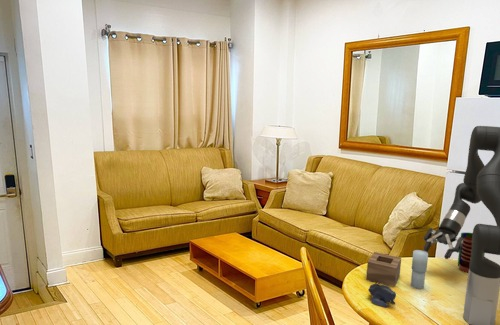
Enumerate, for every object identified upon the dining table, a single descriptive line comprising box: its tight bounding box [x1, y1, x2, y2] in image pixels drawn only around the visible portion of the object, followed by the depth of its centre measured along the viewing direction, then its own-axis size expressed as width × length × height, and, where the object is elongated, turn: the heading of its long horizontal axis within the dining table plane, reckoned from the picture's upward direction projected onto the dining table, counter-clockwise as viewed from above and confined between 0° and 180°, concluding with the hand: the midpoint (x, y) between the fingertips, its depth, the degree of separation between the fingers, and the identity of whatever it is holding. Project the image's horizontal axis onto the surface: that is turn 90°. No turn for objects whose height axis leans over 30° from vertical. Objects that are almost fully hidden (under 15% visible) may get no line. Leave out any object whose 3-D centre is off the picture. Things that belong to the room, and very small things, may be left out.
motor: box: [456, 232, 486, 274], centre depth 167 cm, size 10×9×20 cm
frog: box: [368, 281, 397, 309], centre depth 139 cm, size 9×11×7 cm
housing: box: [365, 251, 402, 288], centre depth 158 cm, size 12×11×8 cm
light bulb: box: [410, 249, 429, 290], centre depth 151 cm, size 5×5×14 cm
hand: (435, 254), depth 157 cm, fingers open, 8 cm apart
